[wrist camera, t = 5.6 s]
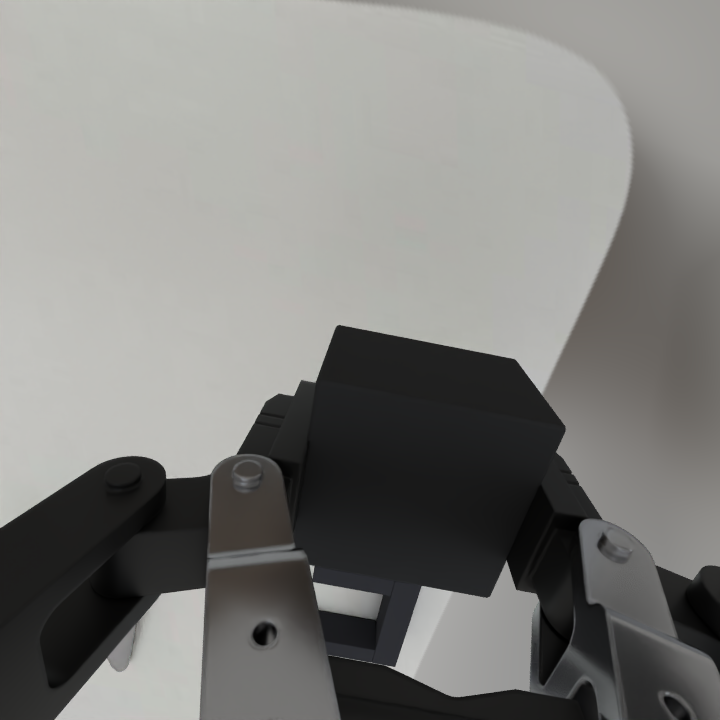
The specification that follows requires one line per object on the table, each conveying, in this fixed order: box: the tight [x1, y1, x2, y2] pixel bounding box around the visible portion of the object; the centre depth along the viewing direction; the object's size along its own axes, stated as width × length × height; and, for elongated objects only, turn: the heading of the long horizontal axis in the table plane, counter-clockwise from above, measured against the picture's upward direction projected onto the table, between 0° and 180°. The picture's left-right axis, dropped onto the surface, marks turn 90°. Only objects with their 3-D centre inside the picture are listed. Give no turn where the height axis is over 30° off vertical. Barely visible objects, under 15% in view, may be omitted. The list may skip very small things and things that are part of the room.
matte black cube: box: [294, 325, 565, 598], centre depth 10 cm, size 5×5×4 cm
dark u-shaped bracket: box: [312, 566, 421, 667], centre depth 33 cm, size 10×8×2 cm
